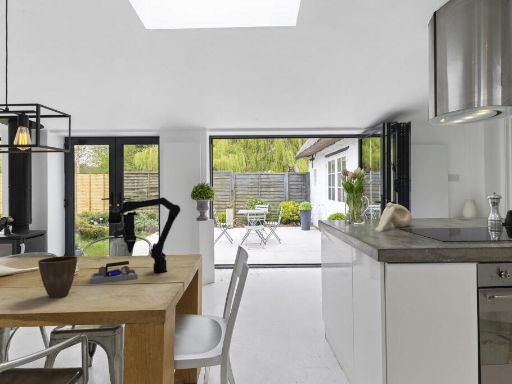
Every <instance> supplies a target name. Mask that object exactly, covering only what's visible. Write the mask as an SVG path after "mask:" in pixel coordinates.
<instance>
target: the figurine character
mask: <svg viewBox="0 0 512 384" xmlns="http://www.w3.org/2000/svg"><path fill="white" fill-rule="evenodd" d="M128 265H130V260H124V261H116V262H115V261H114V262H107V263H106V264H105V266H103V265H102V266H100V267H99V268H98V272H97V273H99V274H100V275H104V274H106V276H103V277H110V276H116V275H120V274H122V275H128V274H129V273H130V269H131V267H129V266H128ZM119 266H122V267H121V268H118V269H112V270H108V269H109V268H113V267H119ZM107 273H108V275H107Z"/></svg>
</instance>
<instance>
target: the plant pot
mask: <svg viewBox="0 0 512 384" xmlns="http://www.w3.org/2000/svg"><path fill="white" fill-rule="evenodd" d="M77 264H78V256H75V255H68V256H67V255H64V256H60V255H59V256H52V257H46V258H42V259H39V260H38V261H37V265H38V269H39V274H40V278H41V281H42V284H43V287H44V290H45V292H46V294H47V295H48V298H50V299H51V298H52V299H56V298H57V299H58V298H62V297H63V298H64V297H66V296H68V295H69V294H70V291H71V288H72V285H73V283H74V278H75V274H76V269H77Z"/></svg>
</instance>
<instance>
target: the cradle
mask: <svg viewBox="0 0 512 384" xmlns="http://www.w3.org/2000/svg"><path fill="white" fill-rule="evenodd" d="M138 274H139V273H138V271H137V268H130V273H129V274H128V275H122V274H120V275H116V276H110V277H103V276H106V274H104V275H100V274H99V273H98V272H92V273H91V275H90V284H91V285H92V284H100V283H110V282H111V281H112V282H120V281H129V280H130V281H131V280H136V279H139V275H138ZM107 275H108V273H107Z"/></svg>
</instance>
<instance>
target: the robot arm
mask: <svg viewBox="0 0 512 384" xmlns="http://www.w3.org/2000/svg"><path fill="white" fill-rule="evenodd" d="M159 205H162V206H163V207H165V208H166V209H167V210H168V215H167V220H166V221H165V225H164V226H163V229H162V231H161V233H160V236H159V238H158V241H157V242H156V243H155V242H154V243H153V244H152V247H151V249H150V251H149V252H150V257H151V258H152V259H153V261H154V262H153V263H152V267H153V272H154V273H155V274H159V273H166V272H167V273H168V269H167V268H168V267H167V259H166V257H167V254H165V253H164V252H163V251H164V246H165V243H166V240H167V239H168V235H169V233H170V231H171V229H172V226H173V224H174V221H175V220H176V219H177V218H178V215H179V214H180V212H181V207H180V205H179V204H174V203H173V202H171V201H170V200H168V199H167V198H166V197H163V196H162V197H159V198H154V199H146V200H140V201H139V200H126V201H124V202H123V203H122V208H121V209H120V210H119V211H109V212H108V213H109V214H108V219H107V221H108V224H109V225H120V224H121V223H123V225H122V228H119V229H115V230H114V231H112V233H111V234H112V235H113V237H114V239H117V238H118V237H120V236H122V238H123V242H124V243H125V244H126V247H127V251H128V254H132V251H133V249H134V246H135V244H136V242H137V236H136V231H135V229H136V225H135V216H138V215H139V212H138V213H137V211H136V210H138V209H140V208H147V207H153V206H159Z"/></svg>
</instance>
